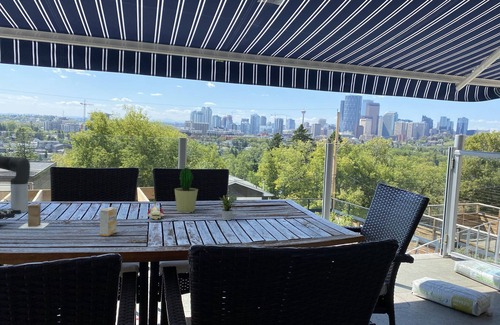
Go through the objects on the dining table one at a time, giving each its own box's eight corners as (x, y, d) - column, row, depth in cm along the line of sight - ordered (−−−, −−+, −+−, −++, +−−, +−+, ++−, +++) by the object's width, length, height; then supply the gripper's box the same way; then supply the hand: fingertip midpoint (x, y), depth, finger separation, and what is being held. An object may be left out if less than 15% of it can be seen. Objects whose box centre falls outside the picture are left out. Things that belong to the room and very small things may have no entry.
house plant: (235, 224, 228) (236, 196, 227) (212, 222, 231) (213, 195, 230) (240, 219, 242) (241, 193, 241) (219, 217, 245) (220, 191, 244)
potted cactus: (198, 213, 253) (200, 168, 250) (174, 213, 249) (175, 167, 246) (196, 208, 267) (197, 165, 265) (173, 209, 264) (174, 165, 261)
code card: (25, 223, 209) (25, 223, 209) (49, 223, 212) (49, 222, 212) (18, 228, 199) (18, 228, 199) (43, 228, 201) (43, 227, 201)
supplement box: (108, 236, 191) (108, 210, 190) (99, 235, 192) (99, 209, 191) (117, 232, 200) (117, 207, 199) (108, 231, 200) (108, 206, 199)
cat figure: (147, 214, 251) (147, 219, 227) (147, 200, 251) (147, 204, 227) (162, 213, 254) (164, 219, 230) (162, 200, 254) (164, 204, 230)
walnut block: (31, 224, 207) (31, 204, 206) (40, 224, 208) (40, 204, 207) (28, 226, 203) (28, 205, 202) (37, 226, 204) (37, 205, 203)
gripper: (-24, 209, 193) (12, 209, 196) (-11, 204, 207) (22, 204, 210) (-24, 224, 193) (12, 224, 196) (-11, 217, 207) (22, 217, 210)
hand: (17, 213), depth 203 cm, fingers open, 8 cm apart
